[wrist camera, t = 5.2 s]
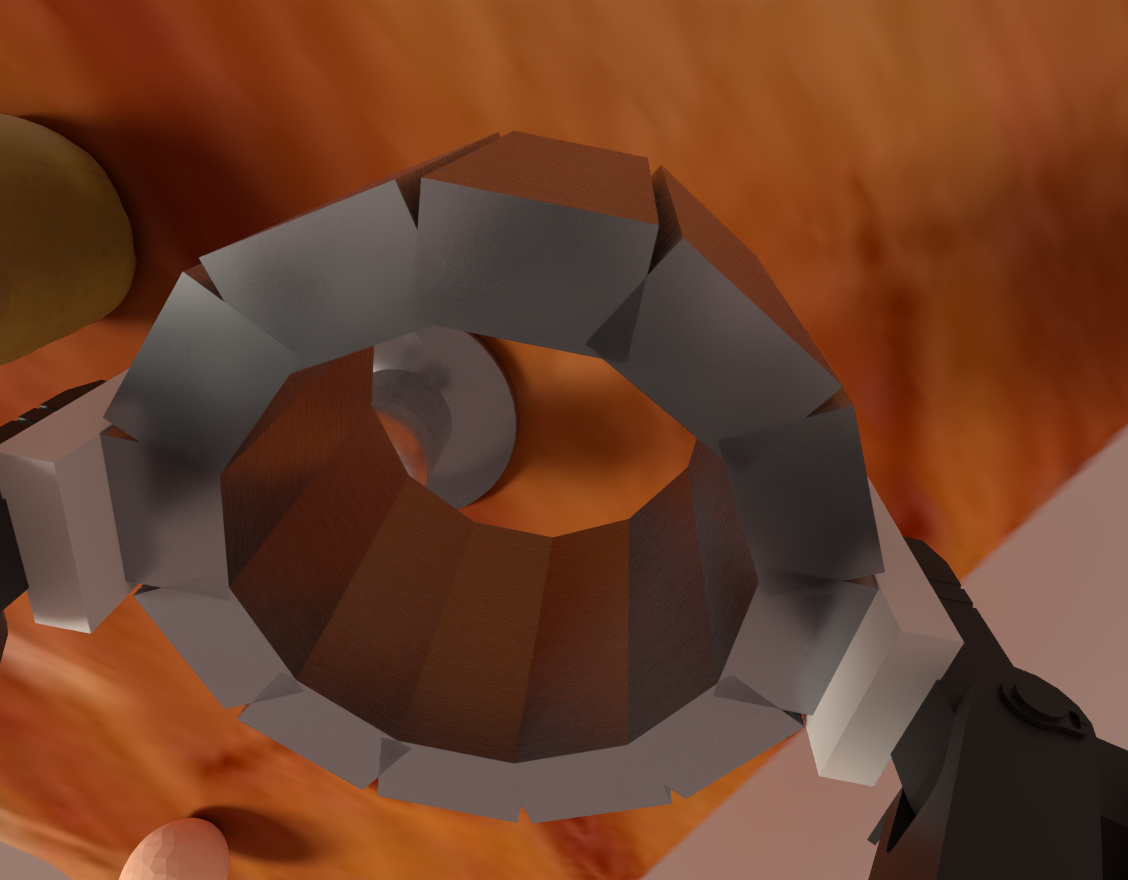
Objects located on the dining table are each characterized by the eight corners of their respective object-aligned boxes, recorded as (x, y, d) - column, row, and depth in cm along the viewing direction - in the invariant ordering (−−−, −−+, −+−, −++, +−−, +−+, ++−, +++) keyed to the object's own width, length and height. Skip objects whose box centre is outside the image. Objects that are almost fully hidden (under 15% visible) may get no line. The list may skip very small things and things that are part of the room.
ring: (300, 88, 12) (42, 101, 7) (859, 200, 12) (1034, 300, 7) (305, 539, 17) (156, 752, 12) (704, 617, 17) (736, 865, 12)
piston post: (291, 274, 30) (170, 347, 22) (537, 328, 30) (503, 420, 22) (290, 482, 35) (192, 600, 27) (499, 526, 36) (462, 657, 28)
